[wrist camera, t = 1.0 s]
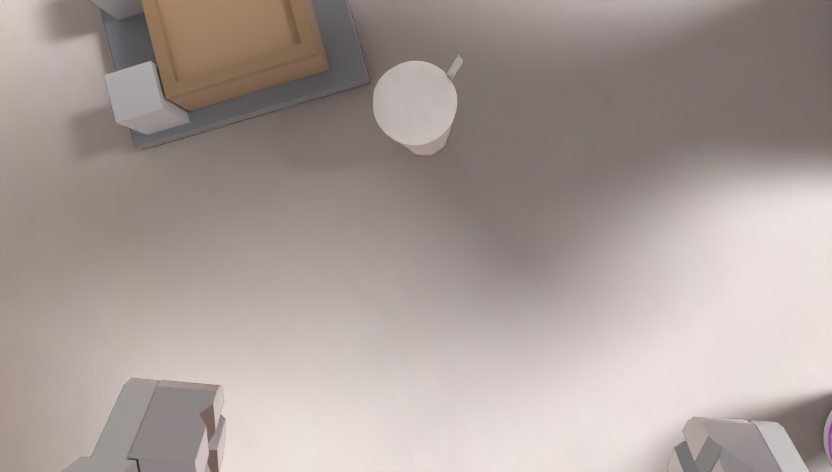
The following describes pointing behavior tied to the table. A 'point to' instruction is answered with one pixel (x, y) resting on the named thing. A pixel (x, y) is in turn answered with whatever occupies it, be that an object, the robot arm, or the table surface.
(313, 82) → the baseplate
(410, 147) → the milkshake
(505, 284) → the table surface
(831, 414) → the supplement bottle
